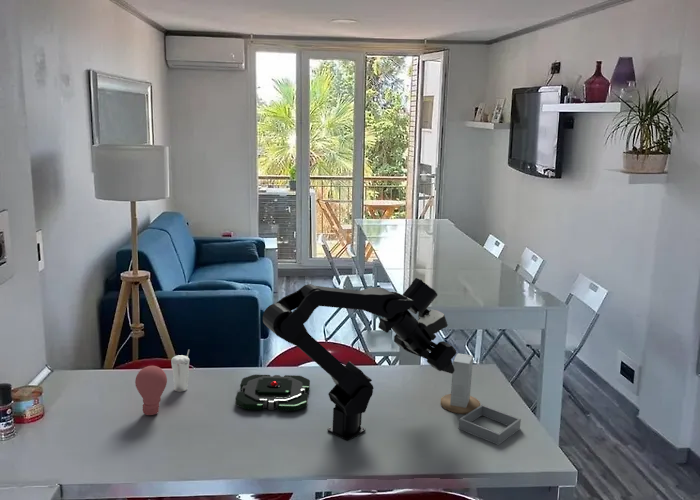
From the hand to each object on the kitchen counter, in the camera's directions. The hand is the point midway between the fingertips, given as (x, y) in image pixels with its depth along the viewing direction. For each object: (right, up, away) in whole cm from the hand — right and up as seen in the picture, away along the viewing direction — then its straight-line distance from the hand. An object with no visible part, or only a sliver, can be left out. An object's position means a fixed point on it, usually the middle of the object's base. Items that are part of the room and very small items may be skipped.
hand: (441, 364), depth 156 cm
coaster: (+6, -11, +6) cm, 14 cm away
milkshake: (-66, -8, +9) cm, 67 cm away
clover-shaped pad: (-42, -10, +6) cm, 44 cm away
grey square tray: (+10, -14, -6) cm, 18 cm away
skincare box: (+5, -11, +6) cm, 13 cm away
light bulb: (-70, -11, -5) cm, 71 cm away
